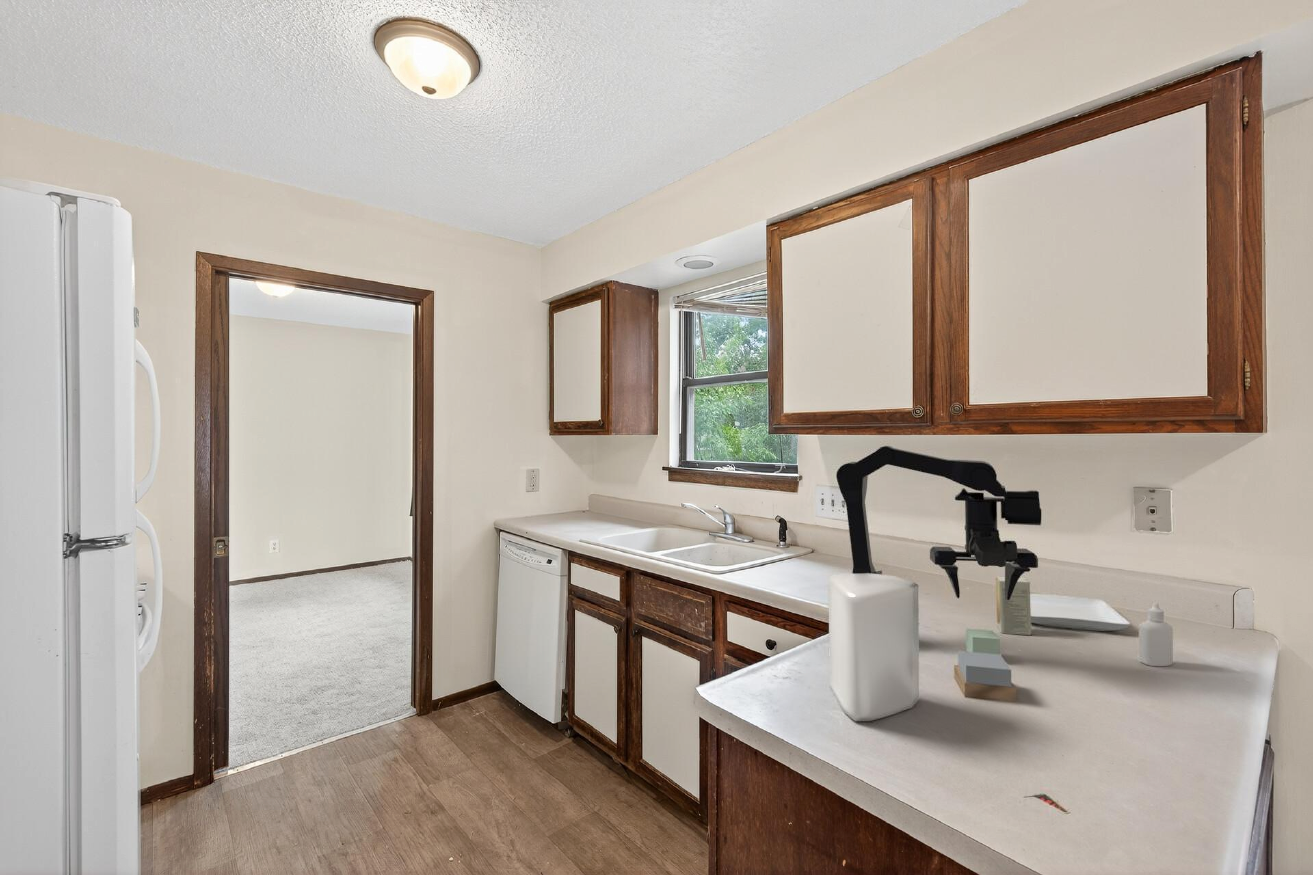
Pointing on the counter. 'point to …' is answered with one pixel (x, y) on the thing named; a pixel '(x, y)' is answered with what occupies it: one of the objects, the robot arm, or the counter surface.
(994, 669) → the blue-grey square block
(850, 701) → the white triangular prism
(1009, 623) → the skincare box
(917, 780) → the counter surface
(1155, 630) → the eye dropper bottle
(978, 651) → the stack block
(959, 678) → the tower base
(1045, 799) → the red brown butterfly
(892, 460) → the robot arm
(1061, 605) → the salad plate
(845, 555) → the counter surface
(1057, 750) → the counter surface
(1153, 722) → the counter surface
